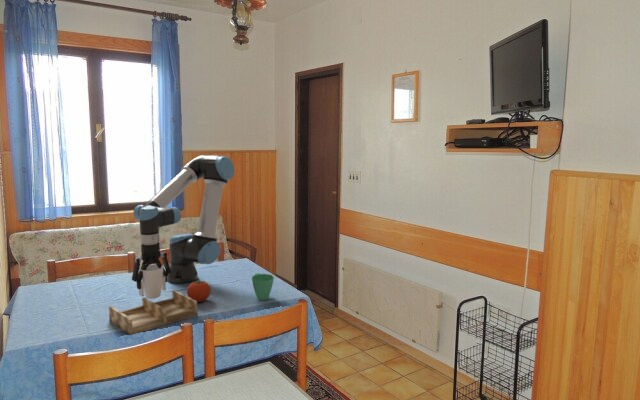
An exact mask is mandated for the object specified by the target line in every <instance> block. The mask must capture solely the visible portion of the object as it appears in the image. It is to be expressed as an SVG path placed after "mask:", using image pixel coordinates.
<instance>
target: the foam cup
mask: <svg viewBox="0 0 640 400" xmlns="http://www.w3.org/2000/svg"><path fill="white" fill-rule="evenodd" d="M163 268H164V265H162V266H161V268H160V269H159V268H158V266H157V265H156V263H155V264H151V265H149V266H148V267H147V269H146V270H141V267H140V268H139V271H140V270H141V271H143V278H142V280H141V281H143V290H144V298H146V299H148V300H152V299H158V298H160V297H161V296H162V295H161V294H162V289H161V287H162V276H163Z"/></svg>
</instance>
